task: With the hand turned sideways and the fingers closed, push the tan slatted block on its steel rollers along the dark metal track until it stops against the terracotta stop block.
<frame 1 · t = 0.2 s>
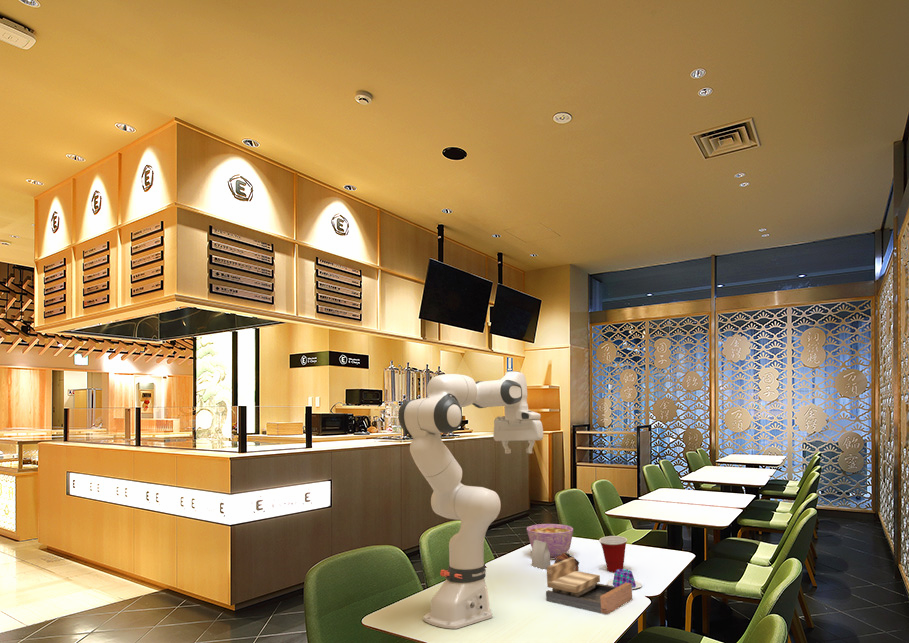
hand: (518, 453, 219), 47 cm above the table, tool pointing down, fingers open, 8 cm apart
pudding: (624, 586, 213), on the table
plastic cup: (614, 571, 231), on the table
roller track: (589, 600, 198), on the table
tea bag: (541, 567, 239), on the table
tan slatted block: (573, 577, 202), point 6 cm above the table, slide at 0.0 cm
brown bent arch: (564, 573, 230), on the table
bowl of food: (551, 556, 256), on the table
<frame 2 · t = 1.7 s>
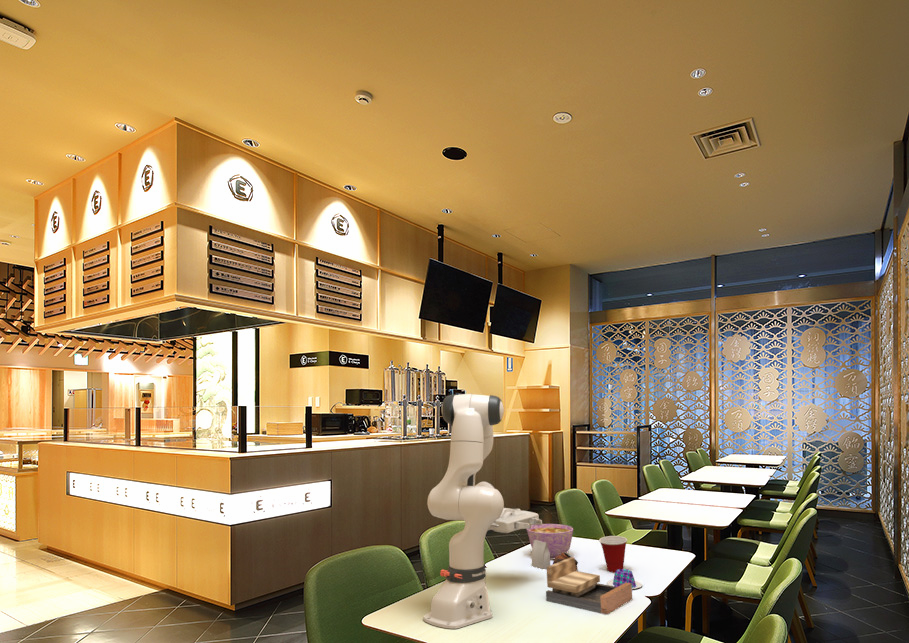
hand: (535, 524, 214), 22 cm above the table, tool horizontal, fingers open, 6 cm apart
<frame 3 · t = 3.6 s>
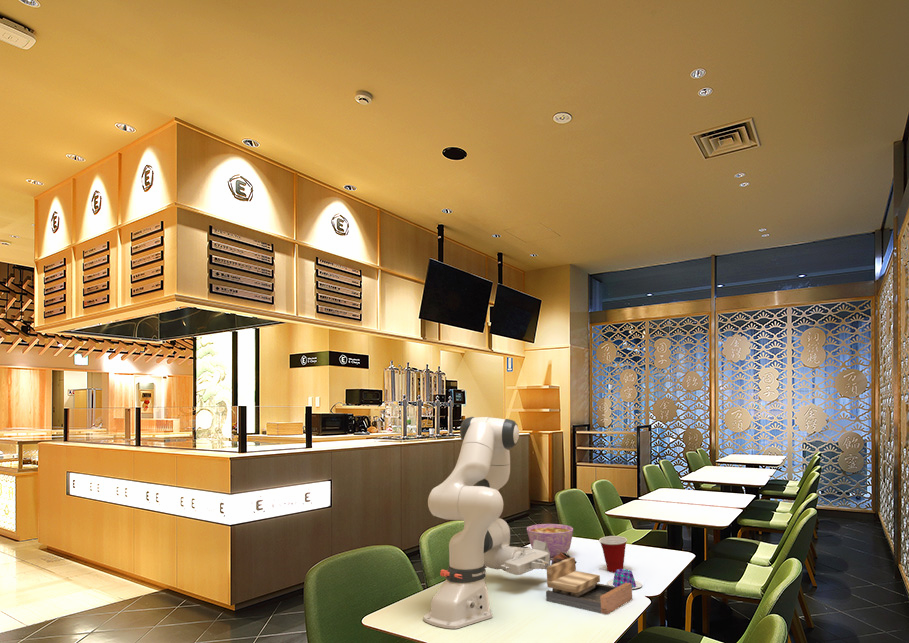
hand: (546, 565, 210), 8 cm above the table, tool horizontal, fingers closed
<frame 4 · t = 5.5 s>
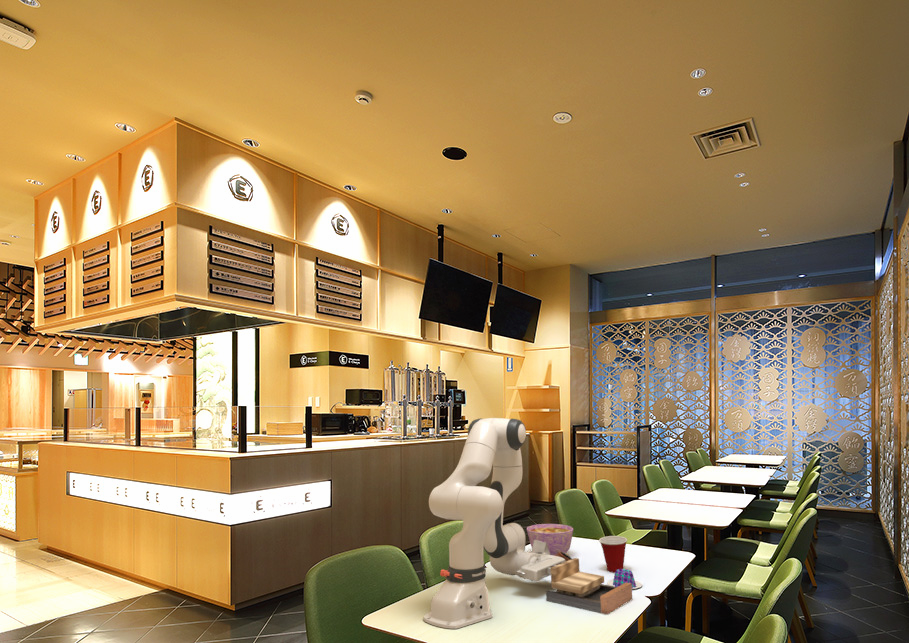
hand: (563, 571, 205), 7 cm above the table, tool horizontal, fingers closed, pressing on tan slatted block
tan slatted block: (577, 578, 201), point 6 cm above the table, slide at 1.6 cm, touching gripper
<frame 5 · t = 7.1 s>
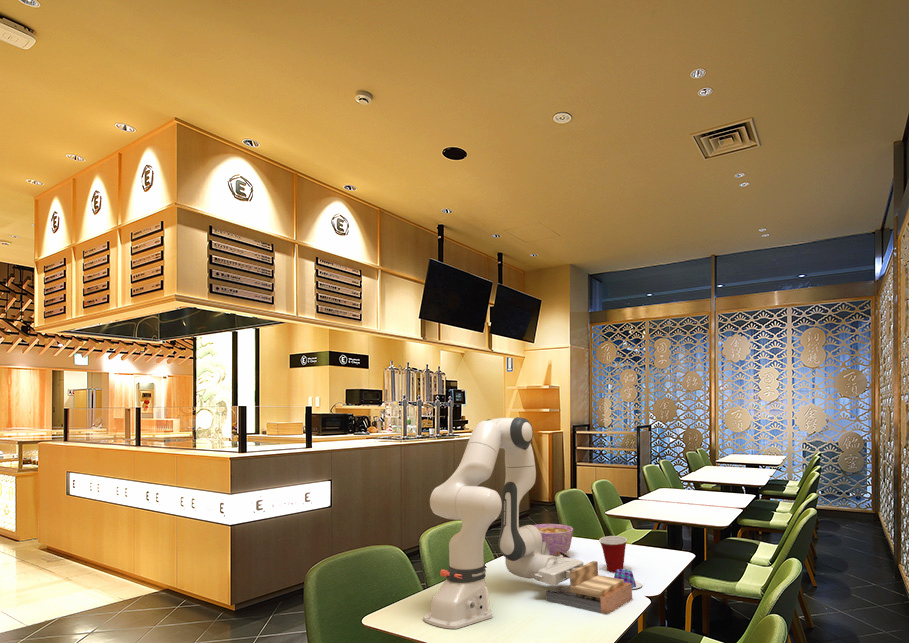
hand: (582, 575, 200), 7 cm above the table, tool horizontal, fingers closed, pressing on tan slatted block
tan slatted block: (597, 582, 196), point 6 cm above the table, slide at 8.9 cm, touching gripper
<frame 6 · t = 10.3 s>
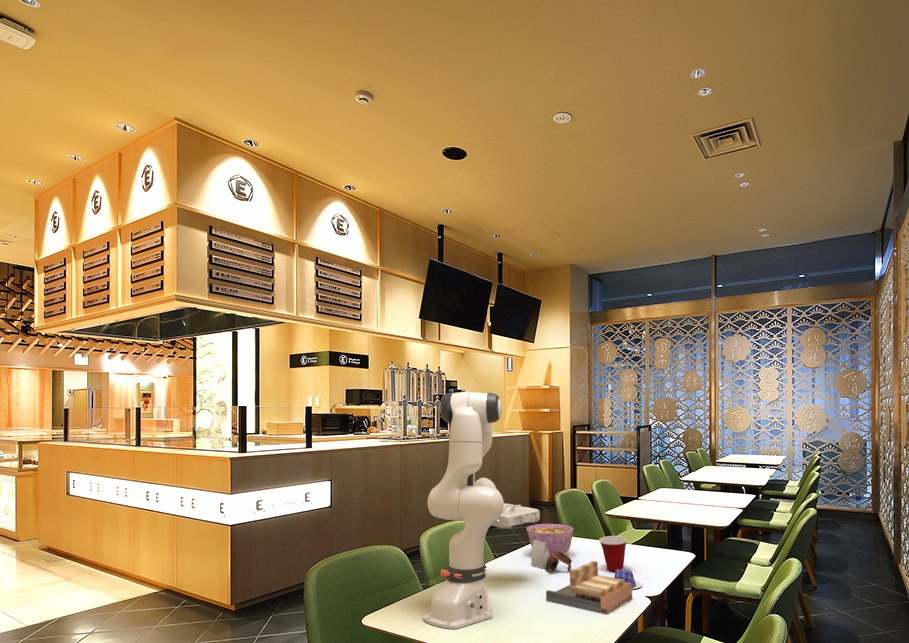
hand: (536, 519, 214), 24 cm above the table, tool horizontal, fingers closed
tan slatted block: (597, 582, 196), point 6 cm above the table, slide at 8.8 cm
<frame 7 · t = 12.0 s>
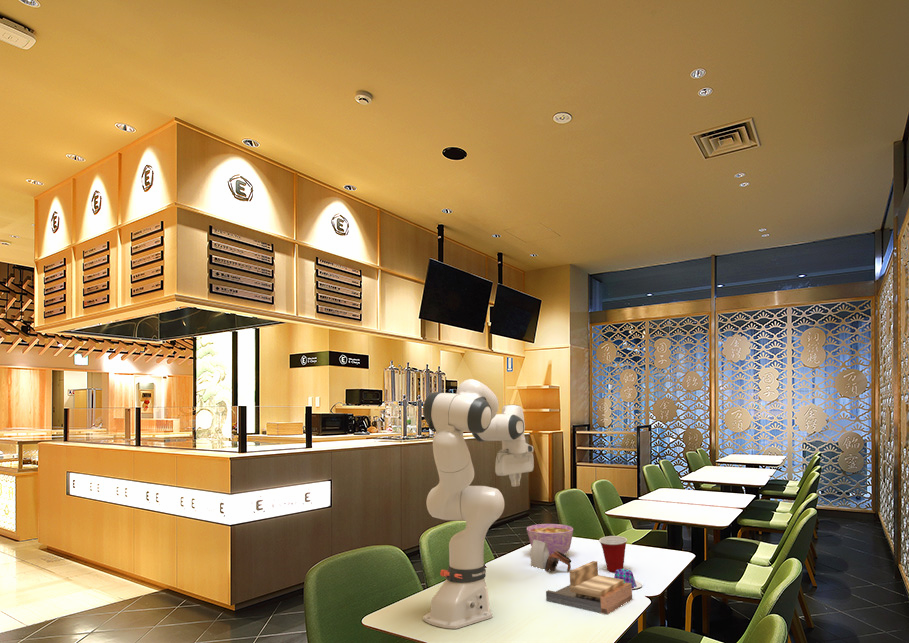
hand: (515, 486, 222), 35 cm above the table, tool pointing down, fingers closed
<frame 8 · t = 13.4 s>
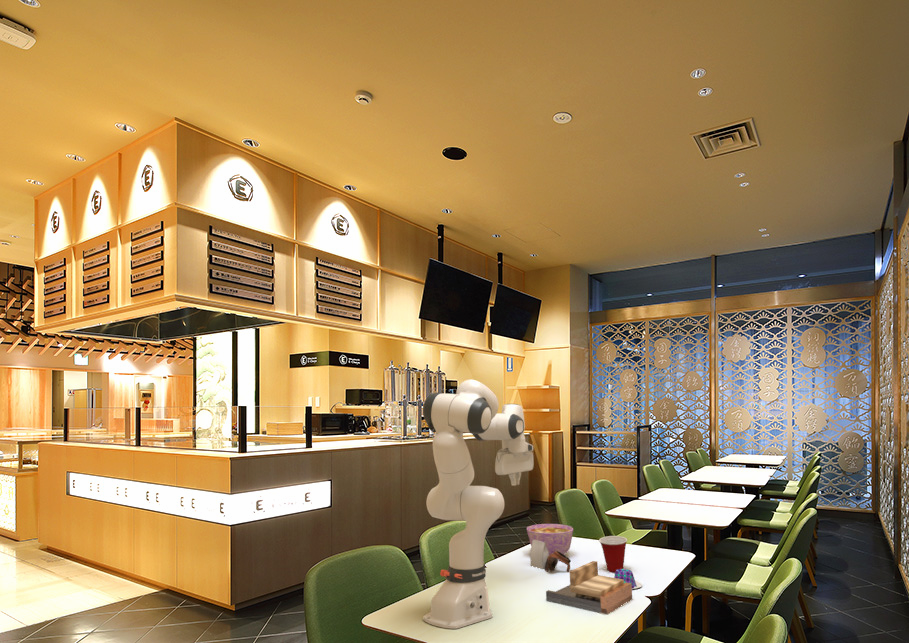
hand: (515, 485, 222), 35 cm above the table, tool pointing down, fingers closed
tea bag: (540, 567, 240), on the table, touching brown bent arch
brown bent arch: (556, 571, 233), on the table, touching tea bag
at the end: tan slatted block slide at 8.8 cm; pudding moved 0.5 cm from its start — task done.
